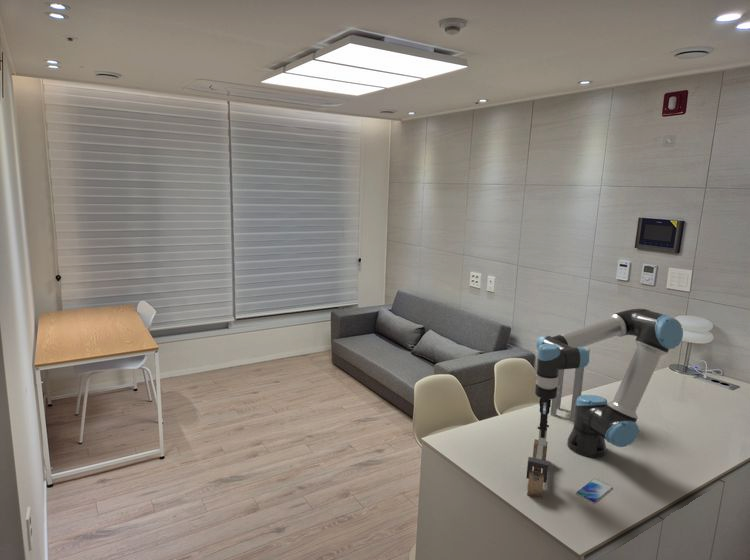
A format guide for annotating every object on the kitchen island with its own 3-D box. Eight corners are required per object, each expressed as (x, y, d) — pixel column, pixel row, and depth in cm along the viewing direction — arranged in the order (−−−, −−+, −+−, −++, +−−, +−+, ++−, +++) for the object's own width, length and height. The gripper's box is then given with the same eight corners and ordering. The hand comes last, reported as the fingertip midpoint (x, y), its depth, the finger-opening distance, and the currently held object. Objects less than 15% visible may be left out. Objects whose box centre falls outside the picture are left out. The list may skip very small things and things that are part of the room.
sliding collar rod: (545, 459, 194) (547, 441, 193) (541, 498, 169) (544, 477, 168) (533, 457, 196) (534, 438, 195) (527, 495, 171) (529, 473, 169)
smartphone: (613, 487, 177) (594, 503, 167) (613, 489, 177) (594, 505, 167) (594, 477, 182) (574, 492, 172) (594, 479, 182) (574, 494, 172)
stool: (584, 412, 238) (592, 345, 232) (578, 424, 226) (586, 353, 219) (552, 404, 247) (558, 339, 240) (544, 415, 234) (551, 347, 227)
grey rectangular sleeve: (546, 478, 175) (548, 461, 174) (546, 483, 172) (548, 465, 171) (527, 473, 178) (528, 456, 177) (526, 478, 175) (527, 460, 174)
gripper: (536, 377, 184) (533, 434, 189) (534, 390, 172) (530, 450, 177) (557, 380, 181) (553, 437, 186) (556, 394, 170) (552, 454, 174)
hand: (542, 443), depth 181 cm, fingers closed
